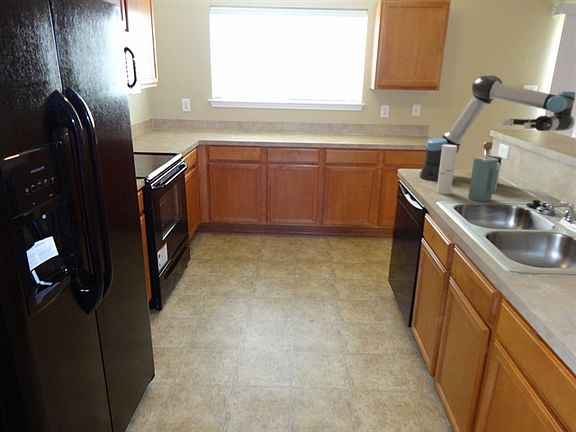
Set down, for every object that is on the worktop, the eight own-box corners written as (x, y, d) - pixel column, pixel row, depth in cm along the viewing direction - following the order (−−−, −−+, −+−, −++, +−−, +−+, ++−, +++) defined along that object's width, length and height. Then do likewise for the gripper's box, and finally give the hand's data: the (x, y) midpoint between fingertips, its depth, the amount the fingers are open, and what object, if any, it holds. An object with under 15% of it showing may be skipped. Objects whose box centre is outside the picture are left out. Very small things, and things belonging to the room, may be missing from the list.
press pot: (463, 196, 225) (469, 156, 218) (479, 195, 228) (486, 155, 222) (482, 204, 213) (489, 161, 206) (499, 202, 217) (506, 160, 210)
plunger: (469, 190, 223) (477, 141, 215) (481, 189, 225) (488, 140, 217) (479, 194, 216) (488, 143, 208) (491, 192, 218) (499, 143, 211)
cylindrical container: (451, 194, 229) (458, 147, 221) (437, 193, 230) (443, 146, 222) (449, 191, 236) (455, 145, 228) (435, 190, 237) (441, 144, 229)
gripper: (566, 134, 211) (532, 135, 204) (524, 127, 233) (493, 128, 226) (570, 118, 208) (536, 119, 201) (527, 113, 230) (495, 113, 224)
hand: (513, 124), depth 214 cm, fingers open, 13 cm apart
